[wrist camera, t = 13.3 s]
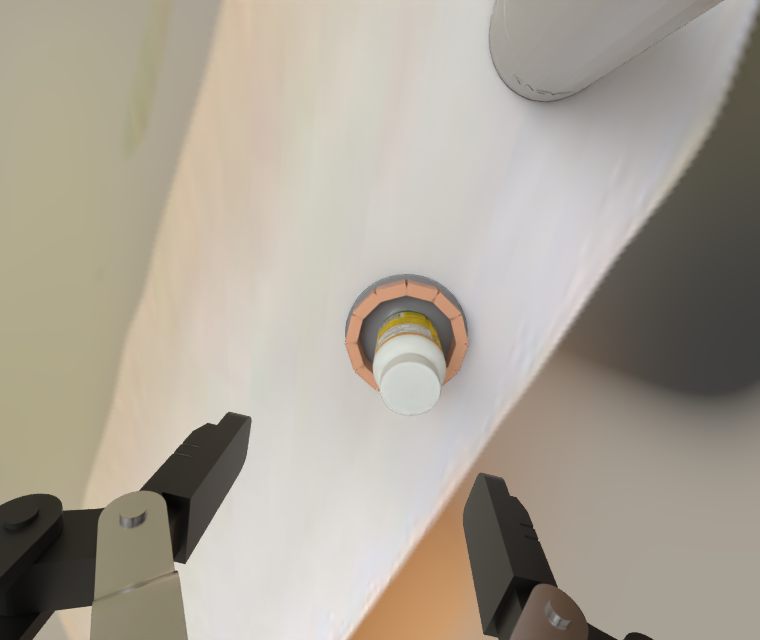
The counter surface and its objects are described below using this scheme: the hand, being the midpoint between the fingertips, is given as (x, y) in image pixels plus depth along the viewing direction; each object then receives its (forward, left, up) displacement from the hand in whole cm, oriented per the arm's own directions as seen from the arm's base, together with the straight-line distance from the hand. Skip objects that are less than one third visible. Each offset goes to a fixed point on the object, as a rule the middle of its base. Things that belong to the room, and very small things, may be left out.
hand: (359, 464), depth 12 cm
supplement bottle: (+2, +3, -21) cm, 21 cm away
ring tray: (+2, +3, -21) cm, 21 cm away
